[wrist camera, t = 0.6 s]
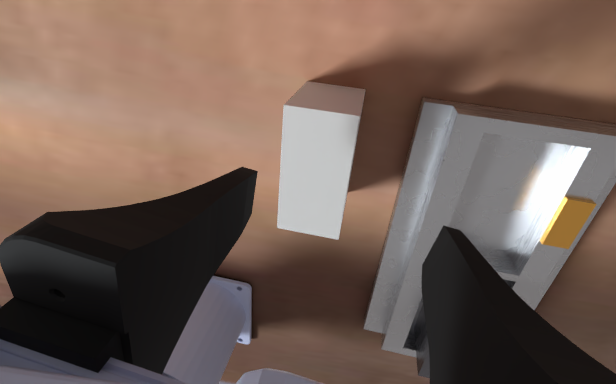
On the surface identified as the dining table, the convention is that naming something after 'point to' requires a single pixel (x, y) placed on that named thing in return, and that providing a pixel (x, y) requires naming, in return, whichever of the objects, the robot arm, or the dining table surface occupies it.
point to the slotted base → (488, 205)
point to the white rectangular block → (318, 157)
